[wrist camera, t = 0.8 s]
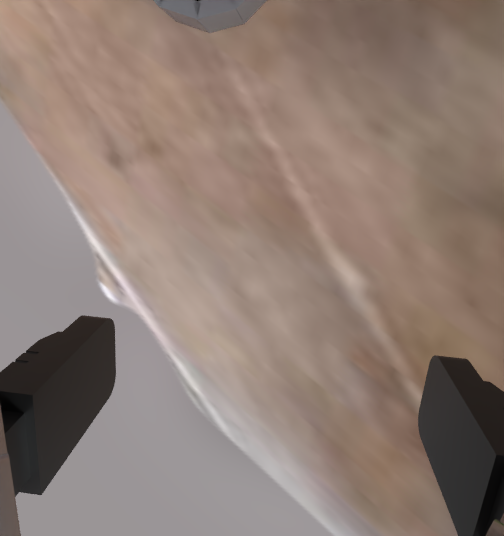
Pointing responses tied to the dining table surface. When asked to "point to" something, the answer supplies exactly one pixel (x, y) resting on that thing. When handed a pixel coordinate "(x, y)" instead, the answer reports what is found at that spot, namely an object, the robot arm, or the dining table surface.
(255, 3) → the sleeve
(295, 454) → the dining table surface
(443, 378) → the robot arm
